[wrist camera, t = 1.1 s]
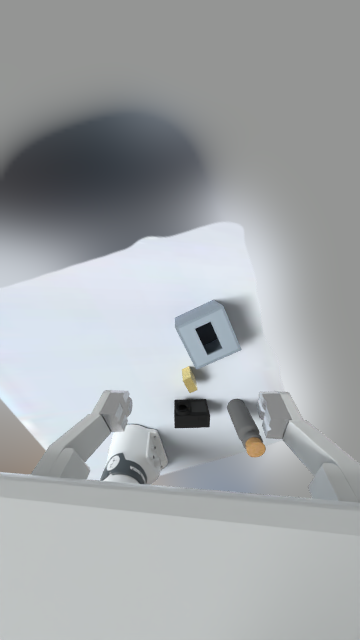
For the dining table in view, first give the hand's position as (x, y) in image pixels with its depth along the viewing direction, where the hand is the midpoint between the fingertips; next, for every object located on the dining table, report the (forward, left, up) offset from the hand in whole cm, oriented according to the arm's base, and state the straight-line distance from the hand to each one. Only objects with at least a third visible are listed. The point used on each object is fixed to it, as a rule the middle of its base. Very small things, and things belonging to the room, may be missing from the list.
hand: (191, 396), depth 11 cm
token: (-21, +7, -39) cm, 45 cm away
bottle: (-39, -2, -39) cm, 55 cm away
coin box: (-9, -3, -39) cm, 40 cm away
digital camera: (-31, +11, -39) cm, 51 cm away
